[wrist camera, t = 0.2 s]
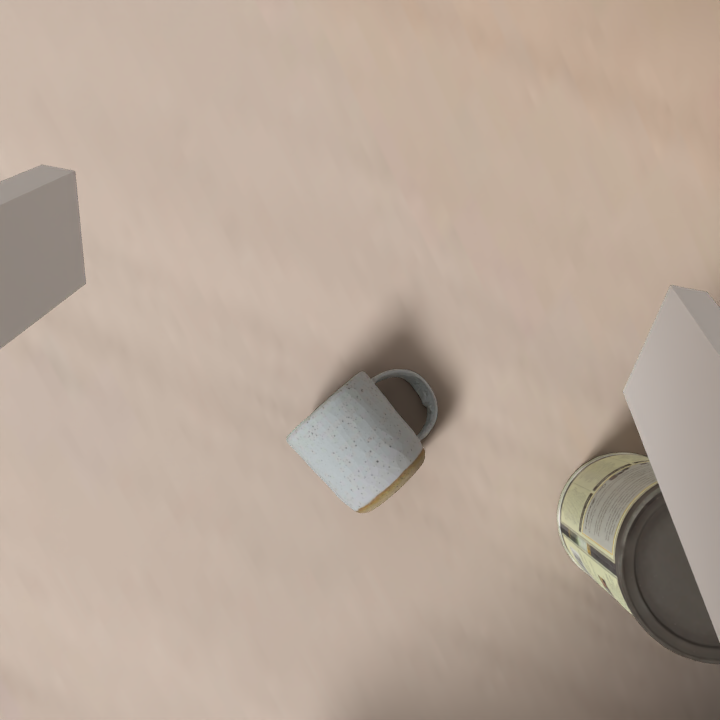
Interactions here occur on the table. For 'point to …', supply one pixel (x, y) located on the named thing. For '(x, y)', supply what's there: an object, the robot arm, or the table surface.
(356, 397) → the ceramic mug
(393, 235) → the table surface
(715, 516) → the robot arm
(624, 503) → the coffee can
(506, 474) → the table surface
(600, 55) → the table surface
